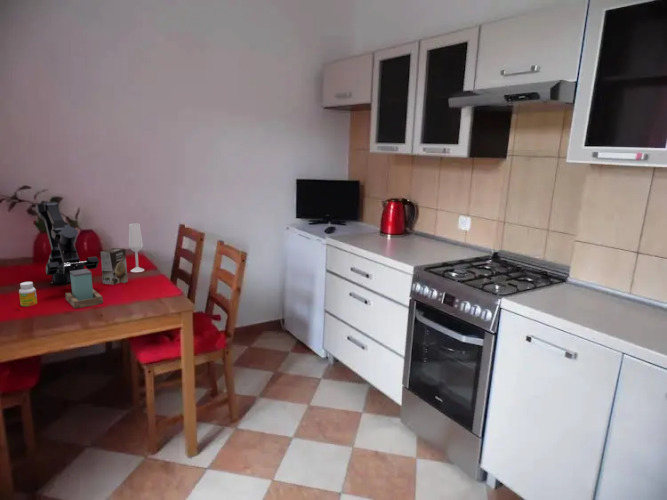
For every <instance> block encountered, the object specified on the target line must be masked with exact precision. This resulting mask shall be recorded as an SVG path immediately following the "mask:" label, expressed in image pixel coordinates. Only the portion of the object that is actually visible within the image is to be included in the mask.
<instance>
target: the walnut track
mask: <svg viewBox="0 0 667 500" xmlns="http://www.w3.org/2000/svg"><path fill="white" fill-rule="evenodd" d="M64 296H65V300H66V301H67V303H68V304H70V306H71V307H72V308H74V309H75V310H76V309H82V308H86V307H87V308H88V307H91V306H92V307H93V306H97V305H101V304H102V305H103V304H104V298H103V295H102V294H100V293H99V292H97V291H96V290H95V289H94V288H93V298H91V299H85V300H80V301H78V300H77V299H76V298H75V297H74V296H73V295H72V292H70V291H69V292H65V295H64Z"/></svg>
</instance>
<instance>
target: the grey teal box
mask: <svg viewBox="0 0 667 500" xmlns="http://www.w3.org/2000/svg"><path fill="white" fill-rule="evenodd" d="M92 276H93V275H92V271H91V270H90V269H87V268H84V269H81V270H74V271H70V277H71V282H70V285H71V294H72V295H73V296H74V297H75V298H76V299H77V300H78V301H80V300H85V299H91V298H93V289H94V288H93V287H94V286H93V278H92Z"/></svg>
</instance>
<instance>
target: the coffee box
mask: <svg viewBox="0 0 667 500" xmlns="http://www.w3.org/2000/svg"><path fill="white" fill-rule="evenodd" d="M126 252H127V251H126V248H121V247H117V248H116V247H113V248H109V249H105V250H103V251H100V263H101V276H102V284H106V285H117V284H120V283H122V284H125V283H128V282H129V281H128V270H127V253H126Z"/></svg>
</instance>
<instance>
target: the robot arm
mask: <svg viewBox="0 0 667 500" xmlns="http://www.w3.org/2000/svg"><path fill="white" fill-rule="evenodd" d="M35 211H36V214H37V215H38V217H39V220H42V221H43V222H44V225H45V226H44V227H45V228H46V234H47V238H48V241H49V245H50V249H51V251H50V254H49V257H48V261H47V263H46V266H45V273H46V275H47V276H51V278H52V280H51V282H50V283H49V284H51V285H59V286H61V285H66V284H68V283H71V277H70V271H74V270H81V269H88V270H93V269H94V270H95V269H97V268H98V265H99V263H100V260H99V258H98V257H97V256H89V257H86V260H84V261H80V257H79V255H78V250H77V248H76V245H75V244H76V242H77V236H78V233H79V232H78V230H77V229H76V228H75V227H73V226H71V225H70V223H68V222H66V221H65V220H64V218H63V216H62V214H61V212H60V205H59V203H58V202H57V201H45V202H38V203H37V204H35Z"/></svg>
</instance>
